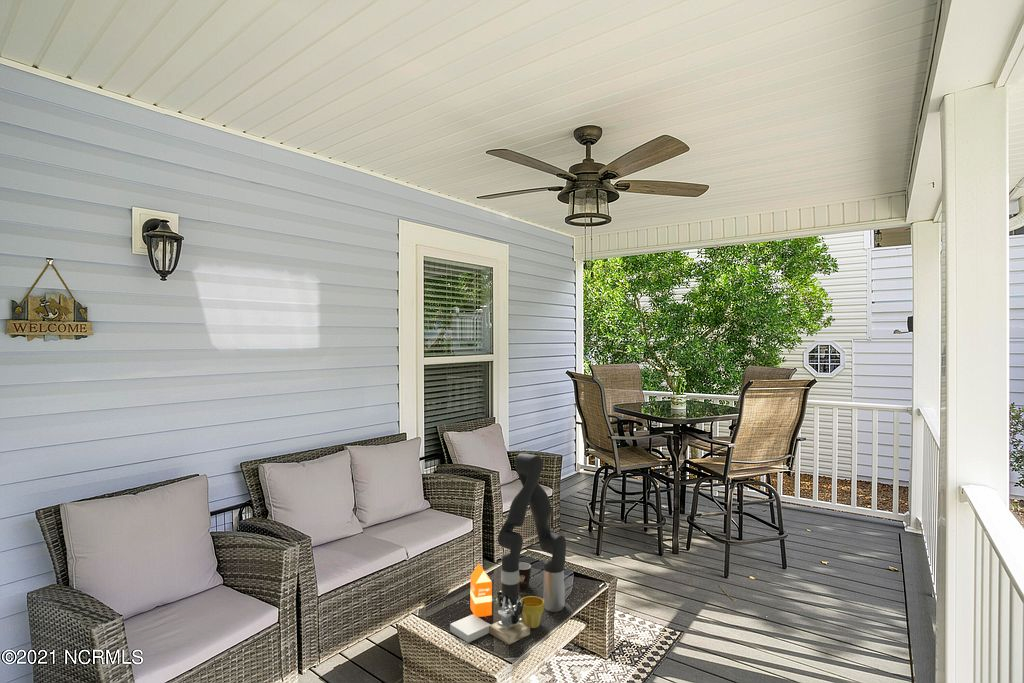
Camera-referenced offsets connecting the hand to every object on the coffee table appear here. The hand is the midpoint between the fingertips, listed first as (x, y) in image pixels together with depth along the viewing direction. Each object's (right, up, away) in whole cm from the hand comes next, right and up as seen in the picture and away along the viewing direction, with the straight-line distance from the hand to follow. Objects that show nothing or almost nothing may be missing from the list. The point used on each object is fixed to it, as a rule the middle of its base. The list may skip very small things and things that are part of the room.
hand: (510, 620), depth 221 cm
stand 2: (0, -5, 0) cm, 5 cm away
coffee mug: (+4, -6, +44) cm, 45 cm away
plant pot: (+9, -5, +7) cm, 13 cm away
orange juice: (-13, -5, +18) cm, 23 cm away
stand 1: (-17, -5, +1) cm, 17 cm away
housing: (0, -1, 0) cm, 1 cm away
